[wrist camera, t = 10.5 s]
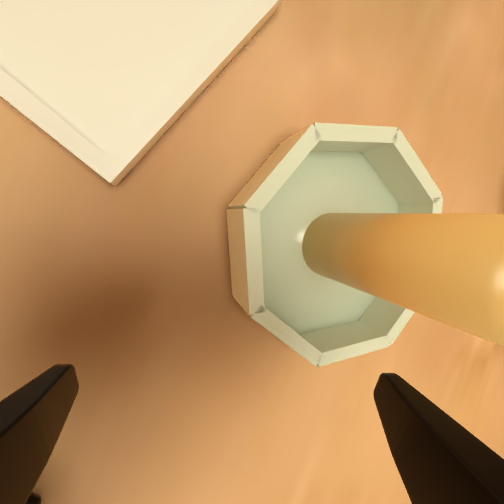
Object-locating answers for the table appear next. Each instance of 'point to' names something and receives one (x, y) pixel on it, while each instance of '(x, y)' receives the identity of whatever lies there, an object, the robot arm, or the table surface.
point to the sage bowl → (297, 221)
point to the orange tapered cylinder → (418, 263)
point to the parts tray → (117, 67)
